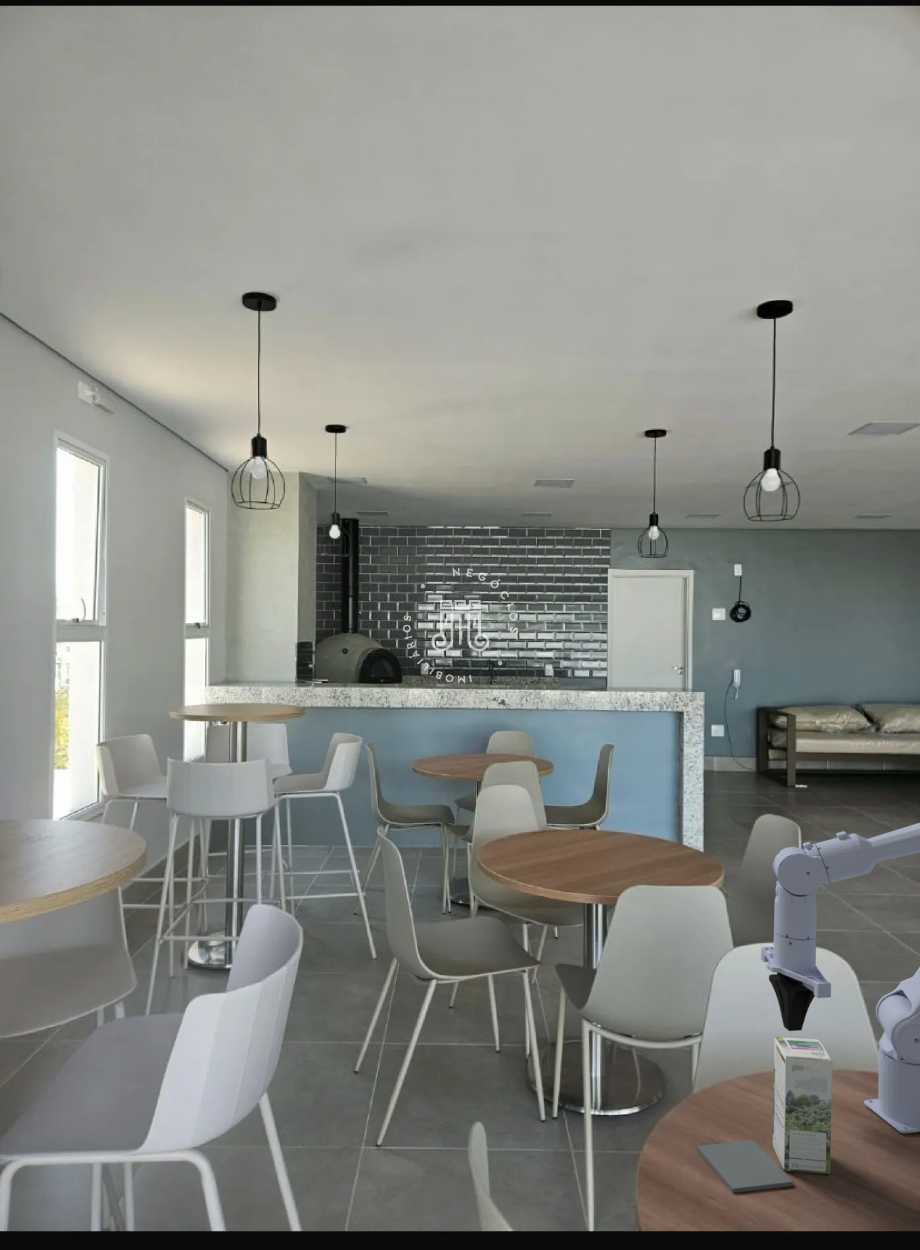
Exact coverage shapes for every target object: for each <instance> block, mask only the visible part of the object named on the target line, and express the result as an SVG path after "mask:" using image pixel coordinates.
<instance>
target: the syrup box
mask: <svg viewBox="0 0 920 1250" xmlns="http://www.w3.org/2000/svg"><path fill="white" fill-rule="evenodd" d="M772 1088H773V1089H772V1091H773V1092H772V1134H771V1135H772V1144H771V1145H772V1147H773V1149H774V1151H775V1153H776V1156H777V1158H778V1160H779V1162H780V1165H781V1166H782V1169H783V1170H784V1171H785V1172H795V1173H796V1172H798V1173H807V1174H808V1173H810V1174H822V1175H830V1173H831V1149H832V1104H833V1060H832V1059H831V1057H830V1055H829V1054H828V1052H827V1050H826V1049H825V1046H824V1045H823V1044H822V1043H821V1041H820V1040H819V1039H815V1038H814V1039H812V1038H799V1037H798V1038H797V1037H782V1036H780V1037H779V1036H775V1037H774V1040H773V1087H772Z"/></svg>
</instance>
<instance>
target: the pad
mask: <svg viewBox="0 0 920 1250" xmlns="http://www.w3.org/2000/svg"><path fill="white" fill-rule="evenodd" d="M696 1151H697V1152H698V1153H699V1154H700V1155H701V1157H702V1158H703V1159H704V1160H705V1161H706V1163H707V1164H708V1165H709V1166H710V1167H711V1169H712V1170H713V1171H714V1172H715V1174H716V1175H717V1176H718V1178H719V1179H720V1180H721V1181H722V1182H723V1183H724V1184H725V1186H726V1187H727V1188H728V1190H730V1192H731V1193H732V1194H734V1193H743V1192H751V1191H761V1190H767V1189H768V1190H769V1189H778V1188H787V1187H793V1186H794V1181H793V1180H792V1179H791V1178H790V1177H789V1176H788V1175H787V1173H786V1172H784V1171H783V1170H782V1168H781V1167H779V1165H778V1164H777V1163H776V1162H775V1161H774V1160H773V1159H772V1158H771V1157H770V1156H769V1155H768V1153H766V1151H764V1150H763V1148H762V1147H760V1145H759V1144H757V1142H756V1141H755V1140H754V1139H751V1140H743V1141H734V1142H722V1143H712V1144H703V1145H697V1146H696Z"/></svg>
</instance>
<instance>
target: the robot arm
mask: <svg viewBox="0 0 920 1250" xmlns="http://www.w3.org/2000/svg"><path fill="white" fill-rule="evenodd" d="M835 835H836V837H834V838H830V839H828V840H823V841H821V842H816V843H811V842H810V841H808V842H804V843H803V844H802V846H803V848H801V847H797V846H788V847H787V846H786V847H785V848H782V849H781V850H779V853H777V854H776V856H775V858H774V860H773V862H772V863H771V868H772V871H773V874H774V876H775V877H776V878H777V880H776V885H775V890H774V891H775V899H774V910H773V911H774V912H773V913H774V914H773V915H774V916H773V918H774V919H773V946H764V947H761V948H760V949H761V950H760V960H761V961H762V962H764V963H766V965H765V966H766V969H767V970H768V971H770V972H772V973H774V974H771V973H770V974H769V975H768V981H769V982H770V984H771V986H772V989H773V990H774V993H775V996H776V999H777V1002H778V1006H779V1010H780V1014H781V1015H780V1016H781V1020H782V1024H783V1027H784V1028H785V1029H786V1030H787V1031H788V1032H796V1031H799V1032H800V1031H802V1030H803V1026H804V1023H805V1021H806V1016H807V1015H808V1014H807V1012H808V1010H809V1008H810V1006H811V1005H812V1004H811V1003H812V1002H813V1000H814V998H815V997H816V998H817V999H827V998H831V997H832V983H831V982H830V981H828V980H827V979H826V978H825V976H824V975H823V974H822V972H821V971H820V969H819V968H818V967H817V965H816V963H817V962H816V961H817V921H818V920H817V919H818V918H817V917H818V916H817V915H818V904H817V891H818V890H819V889H820V887H821V886H822V885H829V884H833V883H837V882H841V881H844V880H847V879H852V878H856V877H861V876H864V875H868V874H870V873H871V872H872V871H873V869H874V867H875V866H876V864H877V863H878V862H883V861H887V860H888V861H889V860H891V859H897V858H902V857H907V856H911V855H916V854H920V822H918V823H914V824H911V825H909V826H904V827H902V828H899V829H895V830H892V831H889V832H886V833H883V834H882V833H881V834H879V835H876V836H873V837H870V838H865V837H863V836H861V835H859V834H857V833H850V834H848V833H847V832H846V831H844V830H843V831H839V832H837V833H835ZM875 1017H876V1020H877V1022H878V1024H879V1025H880V1026H881V1028H882V1029H883V1033H882V1036H881V1038H880V1039H879V1040H878V1078H877V1079H878V1085H877V1086H878V1090H877V1091H878V1092H877V1094H878V1097H877V1098H875V1099H874V1098H873V1099H866V1100H864V1101H863V1103H864V1105H865V1106H866V1107H867V1108H868V1109H870V1110H871V1111H872V1112H873V1113H875V1114H876V1115H877V1116H878V1117H880V1118H881V1119H882V1120H883V1121H885V1122H886V1123H887V1124H889V1125H890V1126H891V1127H893V1128H894V1129H895V1130H897V1131H898V1132H899V1133H900V1134H912V1133H919V1132H920V966H919V967H918V969H917V970H916V972H915V973H914V974H913V975H912V976H911V977H909V978H906V979H904V980H901V981H899V984H898V985H897V987H896V988H894V990H892V991H891V992H888V993H886V994H884V995H883V996H882V997H881V998H879V1001H878V1002H877V1004H876V1008H875Z"/></svg>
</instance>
